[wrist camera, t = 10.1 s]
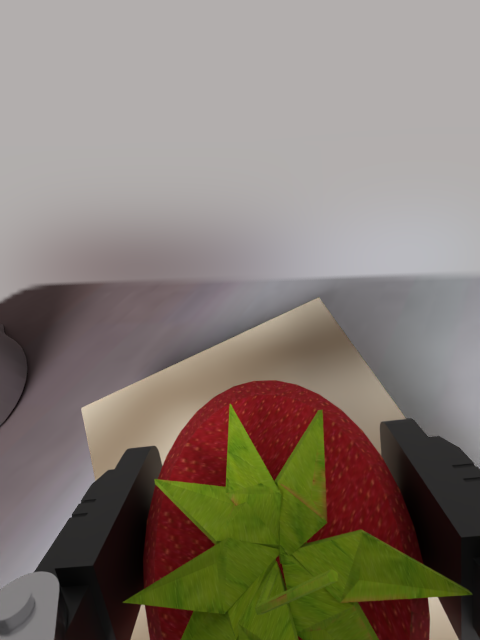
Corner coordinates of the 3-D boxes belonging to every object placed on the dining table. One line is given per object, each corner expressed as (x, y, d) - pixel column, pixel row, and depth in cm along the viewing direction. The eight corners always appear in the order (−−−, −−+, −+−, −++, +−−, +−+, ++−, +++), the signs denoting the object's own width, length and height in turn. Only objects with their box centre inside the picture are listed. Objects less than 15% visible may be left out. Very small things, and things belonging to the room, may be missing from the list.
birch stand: (122, 430, 22) (81, 408, 18) (314, 338, 24) (318, 297, 19) (233, 867, 13) (204, 1032, 9) (536, 675, 15) (636, 738, 10)
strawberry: (340, 421, 14) (406, 261, 6) (404, 675, 10) (913, 1363, 2) (199, 440, 15) (65, 317, 6) (208, 692, 11) (-129, 1325, 2)
